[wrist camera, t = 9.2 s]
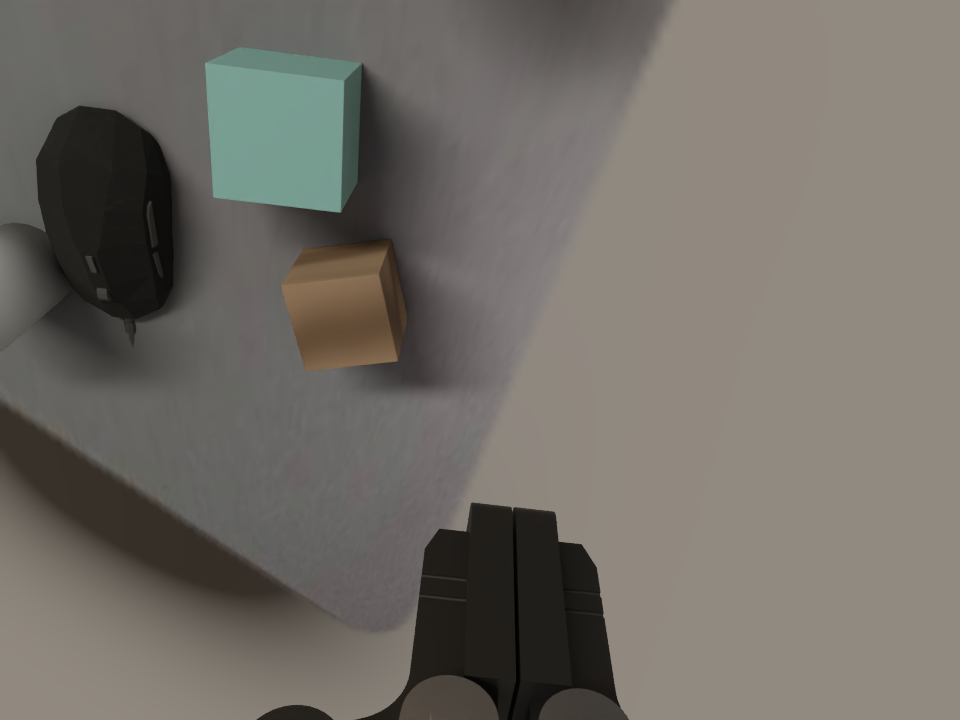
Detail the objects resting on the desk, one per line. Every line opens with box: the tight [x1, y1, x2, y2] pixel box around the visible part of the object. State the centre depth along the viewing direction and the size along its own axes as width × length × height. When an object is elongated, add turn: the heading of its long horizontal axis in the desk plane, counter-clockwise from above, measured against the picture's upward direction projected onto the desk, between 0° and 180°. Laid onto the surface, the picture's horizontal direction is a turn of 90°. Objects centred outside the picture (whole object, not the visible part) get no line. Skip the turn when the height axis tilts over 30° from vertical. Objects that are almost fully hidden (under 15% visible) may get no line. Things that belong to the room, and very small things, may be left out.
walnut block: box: [281, 239, 408, 371], centre depth 41 cm, size 5×5×5 cm
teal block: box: [205, 47, 362, 213], centre depth 36 cm, size 6×6×5 cm
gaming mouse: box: [36, 106, 173, 346], centre depth 41 cm, size 6×15×4 cm, turn 173°
